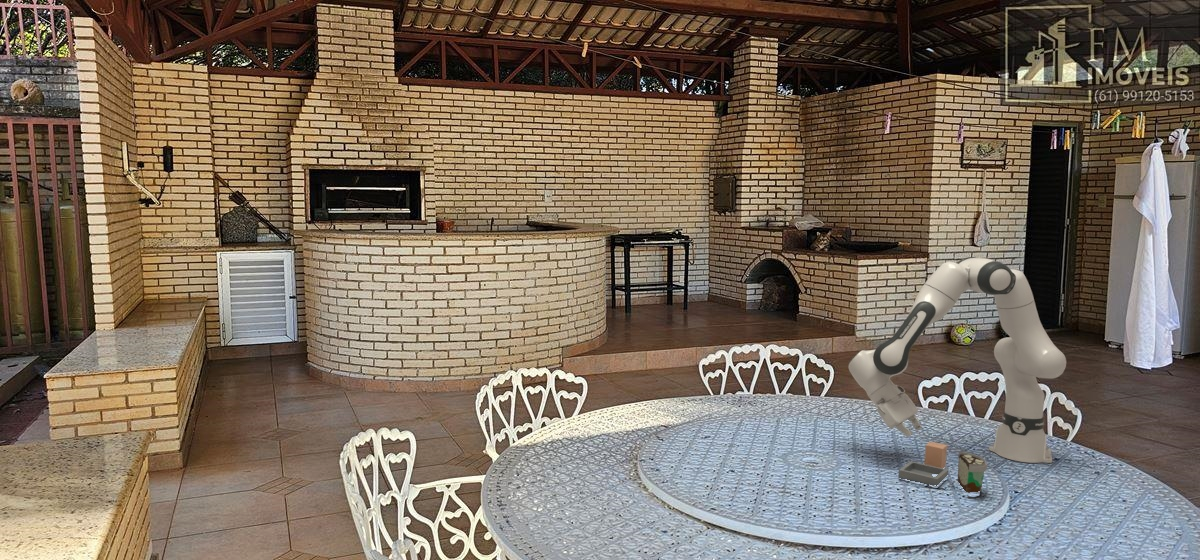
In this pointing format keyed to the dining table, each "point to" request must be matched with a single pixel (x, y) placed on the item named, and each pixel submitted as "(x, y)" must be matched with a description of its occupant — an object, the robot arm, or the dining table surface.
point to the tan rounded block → (935, 454)
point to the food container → (971, 471)
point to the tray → (922, 473)
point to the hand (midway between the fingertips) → (915, 432)
